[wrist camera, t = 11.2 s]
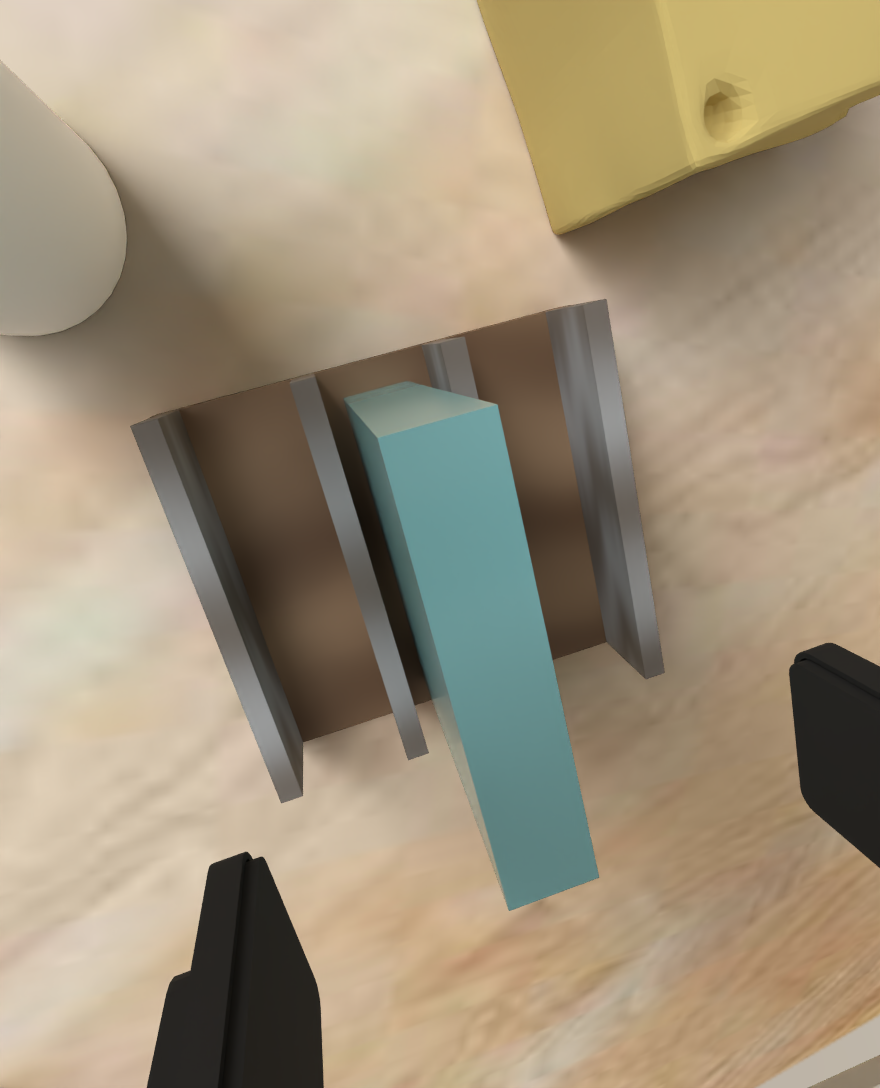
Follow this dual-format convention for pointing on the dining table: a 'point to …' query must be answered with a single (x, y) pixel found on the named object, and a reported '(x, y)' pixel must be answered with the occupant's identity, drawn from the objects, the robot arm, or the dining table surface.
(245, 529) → the rack
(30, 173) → the cylindrical container
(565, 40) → the cheese
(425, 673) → the teal slab
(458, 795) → the dining table surface
